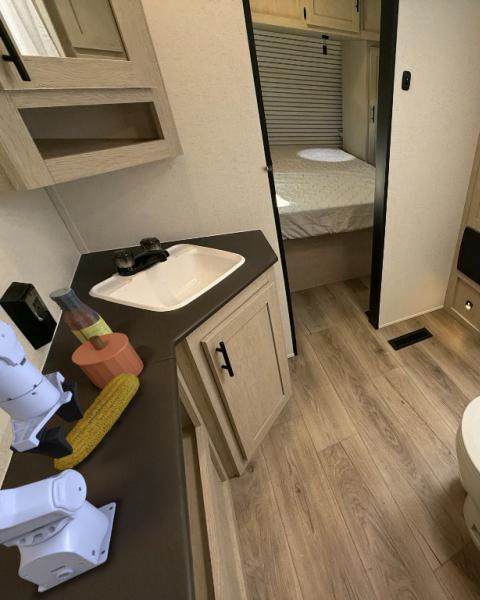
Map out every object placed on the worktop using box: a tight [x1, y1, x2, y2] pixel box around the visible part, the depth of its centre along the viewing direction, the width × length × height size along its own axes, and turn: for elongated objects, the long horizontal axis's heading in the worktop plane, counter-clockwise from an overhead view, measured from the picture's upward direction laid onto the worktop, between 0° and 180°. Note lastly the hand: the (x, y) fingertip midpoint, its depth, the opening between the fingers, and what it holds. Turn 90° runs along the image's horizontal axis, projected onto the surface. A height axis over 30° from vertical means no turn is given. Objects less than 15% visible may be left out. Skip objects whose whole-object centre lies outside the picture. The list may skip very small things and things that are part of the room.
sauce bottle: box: [49, 286, 114, 345], centre depth 80 cm, size 6×6×20 cm
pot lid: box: [71, 332, 130, 366], centre depth 74 cm, size 10×10×4 cm
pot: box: [77, 341, 144, 390], centre depth 77 cm, size 10×10×8 cm
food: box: [53, 373, 140, 471], centre depth 66 cm, size 21×6×6 cm, turn 5°
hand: (71, 436), depth 56 cm, fingers open, 7 cm apart
